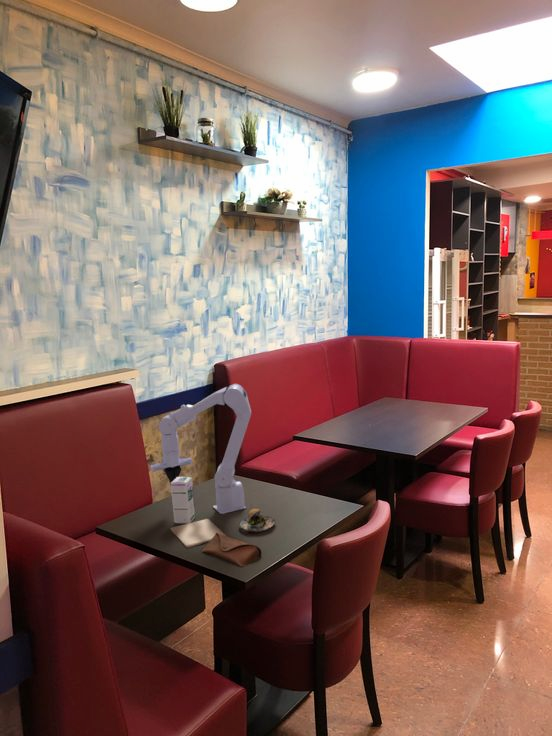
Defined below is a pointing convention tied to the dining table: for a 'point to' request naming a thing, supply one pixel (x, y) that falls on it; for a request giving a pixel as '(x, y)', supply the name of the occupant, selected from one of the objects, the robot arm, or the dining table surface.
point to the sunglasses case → (232, 550)
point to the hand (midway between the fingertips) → (173, 487)
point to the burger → (255, 522)
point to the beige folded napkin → (196, 532)
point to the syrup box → (183, 500)
